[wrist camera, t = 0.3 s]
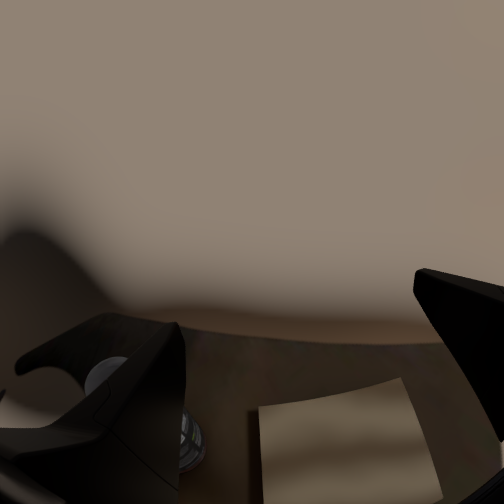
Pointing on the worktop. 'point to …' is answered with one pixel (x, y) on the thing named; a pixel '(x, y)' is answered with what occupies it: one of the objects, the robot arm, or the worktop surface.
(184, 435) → the supplement bottle
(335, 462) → the beige square board
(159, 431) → the robot arm
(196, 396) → the worktop surface
